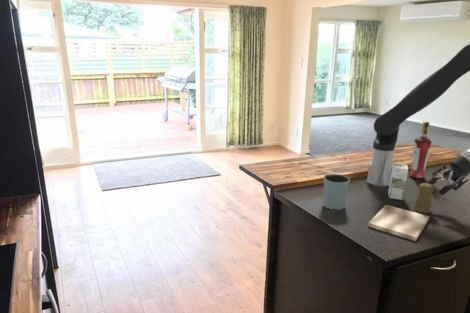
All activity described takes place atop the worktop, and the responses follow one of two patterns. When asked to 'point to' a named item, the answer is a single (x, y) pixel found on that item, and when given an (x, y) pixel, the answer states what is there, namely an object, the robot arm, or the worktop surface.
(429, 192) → the cork
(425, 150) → the liquor
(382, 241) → the worktop surface
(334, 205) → the blue-grey cup
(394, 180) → the syrup box
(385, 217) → the birch board
